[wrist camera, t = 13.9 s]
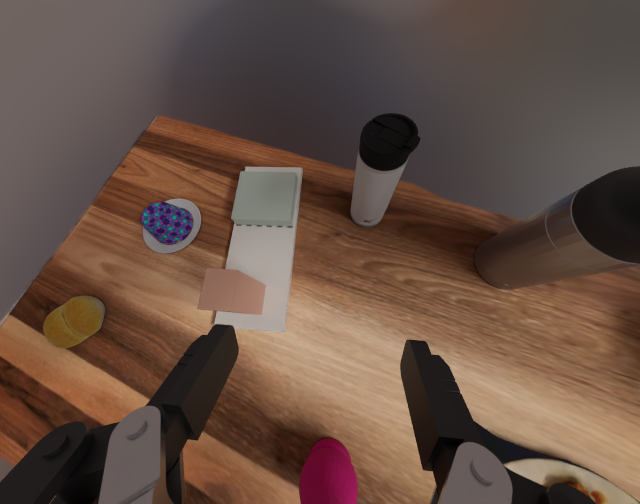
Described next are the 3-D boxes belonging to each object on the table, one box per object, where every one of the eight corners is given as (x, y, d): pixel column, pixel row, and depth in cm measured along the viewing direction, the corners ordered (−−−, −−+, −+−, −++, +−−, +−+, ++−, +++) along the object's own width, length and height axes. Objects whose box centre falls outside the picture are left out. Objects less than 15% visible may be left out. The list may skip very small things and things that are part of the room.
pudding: (143, 210, 48) (121, 197, 43) (198, 193, 48) (182, 178, 43) (147, 262, 44) (123, 254, 39) (207, 243, 44) (191, 233, 39)
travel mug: (371, 235, 42) (400, 163, 23) (343, 215, 44) (349, 132, 25) (391, 211, 43) (434, 124, 24) (363, 193, 45) (383, 98, 26)
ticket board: (247, 170, 49) (240, 158, 45) (302, 171, 48) (300, 159, 44) (217, 326, 39) (205, 326, 36) (285, 332, 38) (280, 332, 35)
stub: (243, 283, 40) (206, 267, 28) (265, 285, 39) (237, 269, 28) (238, 313, 38) (197, 308, 27) (261, 314, 38) (229, 311, 26)
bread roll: (114, 322, 41) (91, 322, 37) (67, 354, 40) (39, 358, 36) (99, 286, 43) (76, 282, 39) (55, 315, 42) (27, 314, 38)
